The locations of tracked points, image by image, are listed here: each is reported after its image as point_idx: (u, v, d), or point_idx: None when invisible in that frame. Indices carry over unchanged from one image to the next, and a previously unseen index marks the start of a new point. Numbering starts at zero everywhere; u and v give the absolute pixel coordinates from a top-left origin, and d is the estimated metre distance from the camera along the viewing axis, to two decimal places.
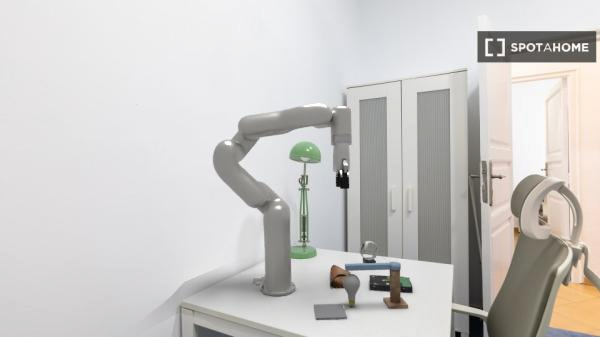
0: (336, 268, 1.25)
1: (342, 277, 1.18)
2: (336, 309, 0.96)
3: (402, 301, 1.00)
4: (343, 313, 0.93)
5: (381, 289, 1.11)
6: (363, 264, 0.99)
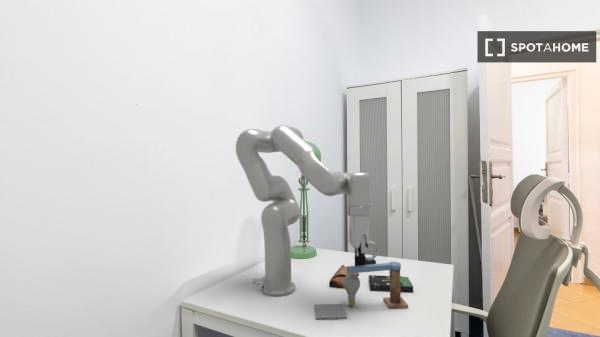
0: (342, 268, 1.25)
1: (343, 277, 1.18)
2: (336, 309, 0.96)
3: (402, 301, 1.00)
4: (343, 313, 0.93)
5: (382, 289, 1.11)
6: (365, 266, 0.98)
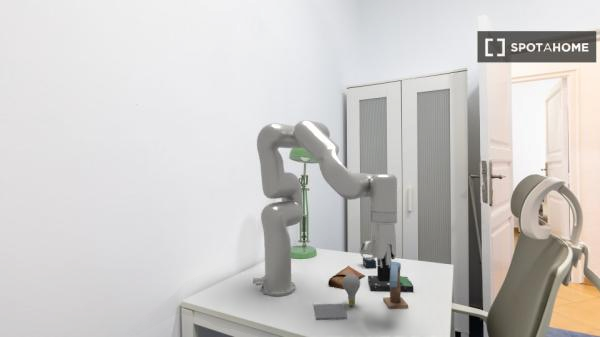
0: (346, 269, 1.25)
1: None
2: (336, 309, 0.96)
3: (402, 301, 1.00)
4: (343, 313, 0.93)
5: (382, 289, 1.10)
6: (394, 273, 0.90)
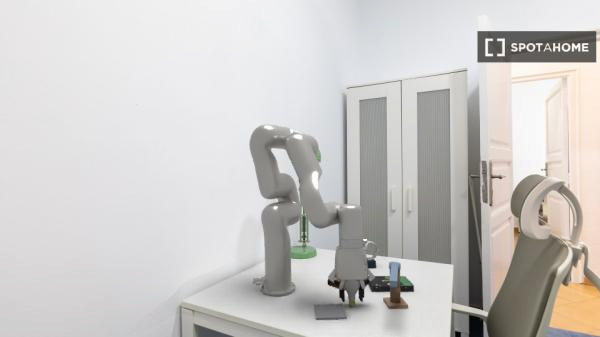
0: None
1: None
2: (336, 309, 0.96)
3: (402, 301, 1.00)
4: (343, 313, 0.93)
5: (383, 290, 1.10)
6: (394, 273, 0.90)
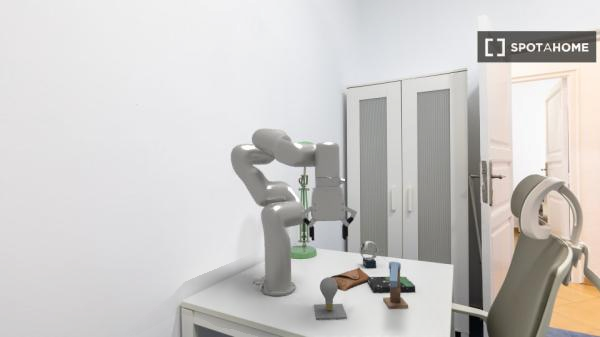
0: (352, 270, 1.23)
1: (345, 279, 1.17)
2: (336, 309, 0.96)
3: (402, 301, 1.00)
4: (343, 313, 0.93)
5: (385, 291, 1.09)
6: (394, 273, 0.90)
